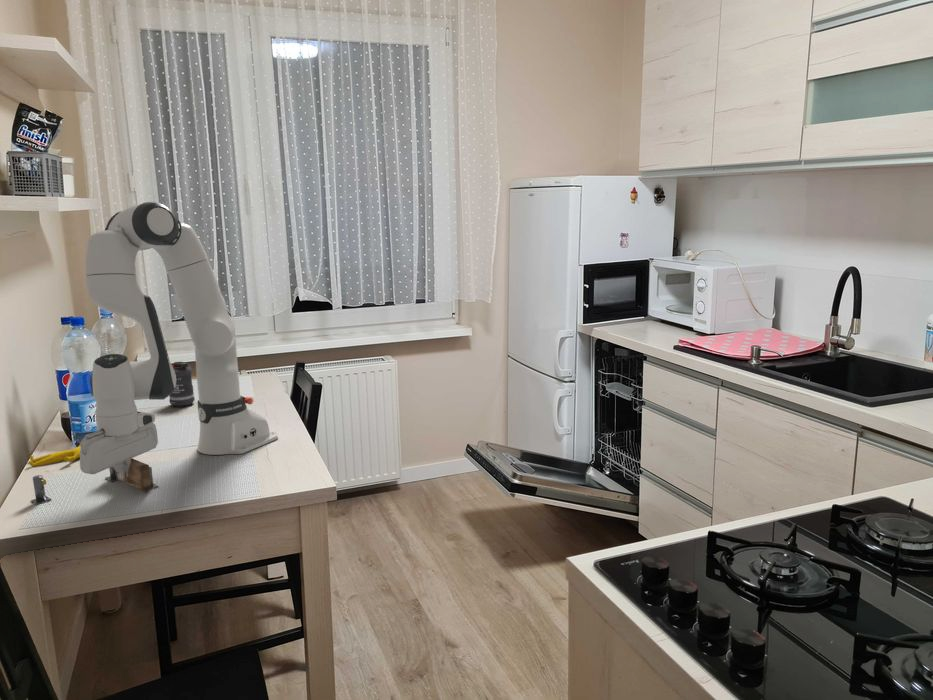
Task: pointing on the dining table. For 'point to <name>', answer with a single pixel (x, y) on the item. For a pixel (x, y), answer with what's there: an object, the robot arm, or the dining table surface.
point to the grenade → (182, 386)
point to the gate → (138, 475)
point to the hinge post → (112, 475)
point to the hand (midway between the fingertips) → (123, 478)
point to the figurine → (56, 457)
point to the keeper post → (152, 479)
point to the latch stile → (39, 490)
